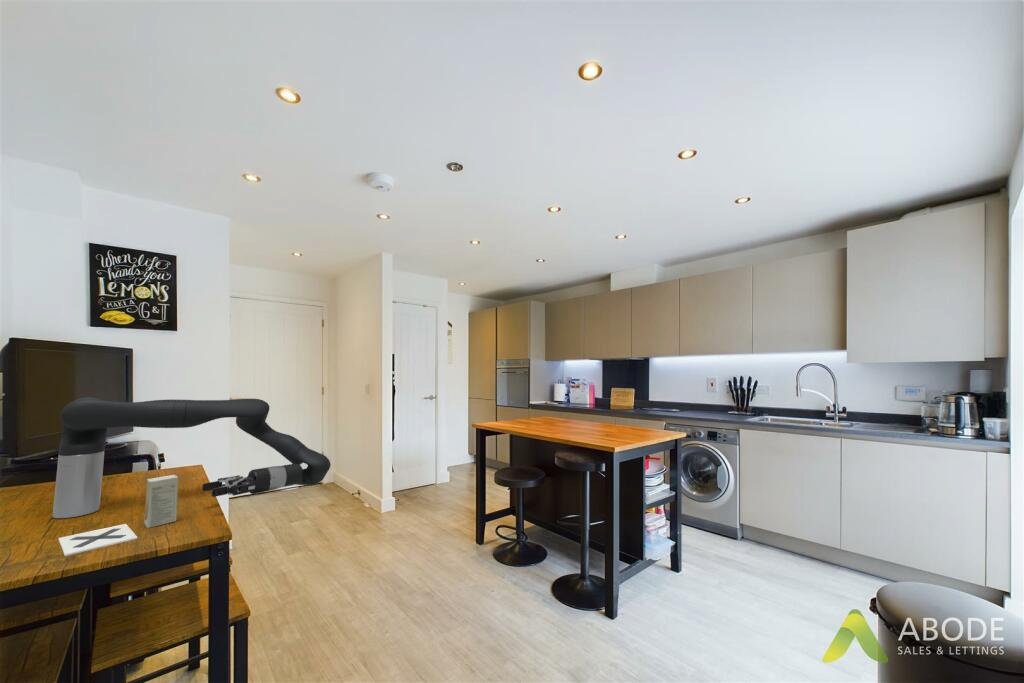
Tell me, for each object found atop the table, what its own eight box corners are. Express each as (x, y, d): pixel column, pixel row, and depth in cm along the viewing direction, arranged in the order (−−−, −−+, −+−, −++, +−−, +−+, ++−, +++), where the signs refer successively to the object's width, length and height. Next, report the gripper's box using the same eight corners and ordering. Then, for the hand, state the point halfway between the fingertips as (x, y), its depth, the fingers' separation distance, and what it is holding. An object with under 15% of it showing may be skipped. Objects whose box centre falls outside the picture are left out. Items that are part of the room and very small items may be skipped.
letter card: (58, 539, 97) (58, 537, 97) (125, 525, 107) (125, 523, 107) (64, 556, 89) (65, 554, 89) (137, 538, 98) (137, 536, 98)
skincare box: (173, 518, 112) (176, 473, 113) (176, 521, 110) (180, 476, 111) (142, 524, 107) (146, 478, 108) (145, 528, 105) (149, 481, 106)
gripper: (259, 464, 135) (200, 473, 122) (277, 470, 126) (216, 481, 113) (257, 486, 134) (198, 498, 121) (275, 495, 125) (214, 508, 113)
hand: (207, 490), depth 117 cm, fingers open, 8 cm apart
